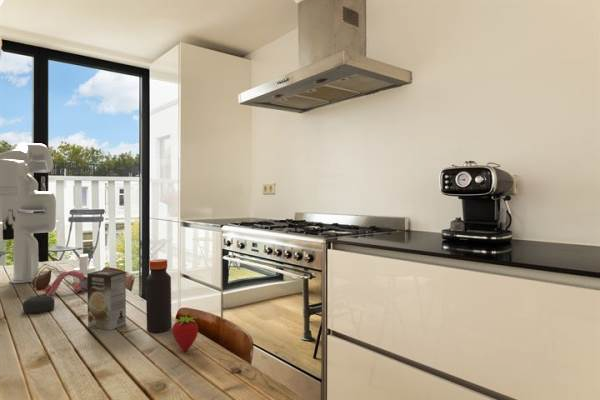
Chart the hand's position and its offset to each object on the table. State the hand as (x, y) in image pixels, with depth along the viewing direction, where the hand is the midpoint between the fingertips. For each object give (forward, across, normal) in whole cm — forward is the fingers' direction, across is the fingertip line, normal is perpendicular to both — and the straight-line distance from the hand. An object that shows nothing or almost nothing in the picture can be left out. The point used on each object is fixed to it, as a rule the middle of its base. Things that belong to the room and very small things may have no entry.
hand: (8, 239), depth 147 cm
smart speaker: (+22, +28, +3) cm, 36 cm away
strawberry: (+20, +98, +18) cm, 101 cm away
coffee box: (+21, +63, +13) cm, 67 cm away
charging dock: (+23, +7, +25) cm, 35 cm away
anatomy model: (+23, +6, +15) cm, 28 cm away
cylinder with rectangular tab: (+24, -10, +30) cm, 39 cm away
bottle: (+20, +78, +22) cm, 83 cm away
